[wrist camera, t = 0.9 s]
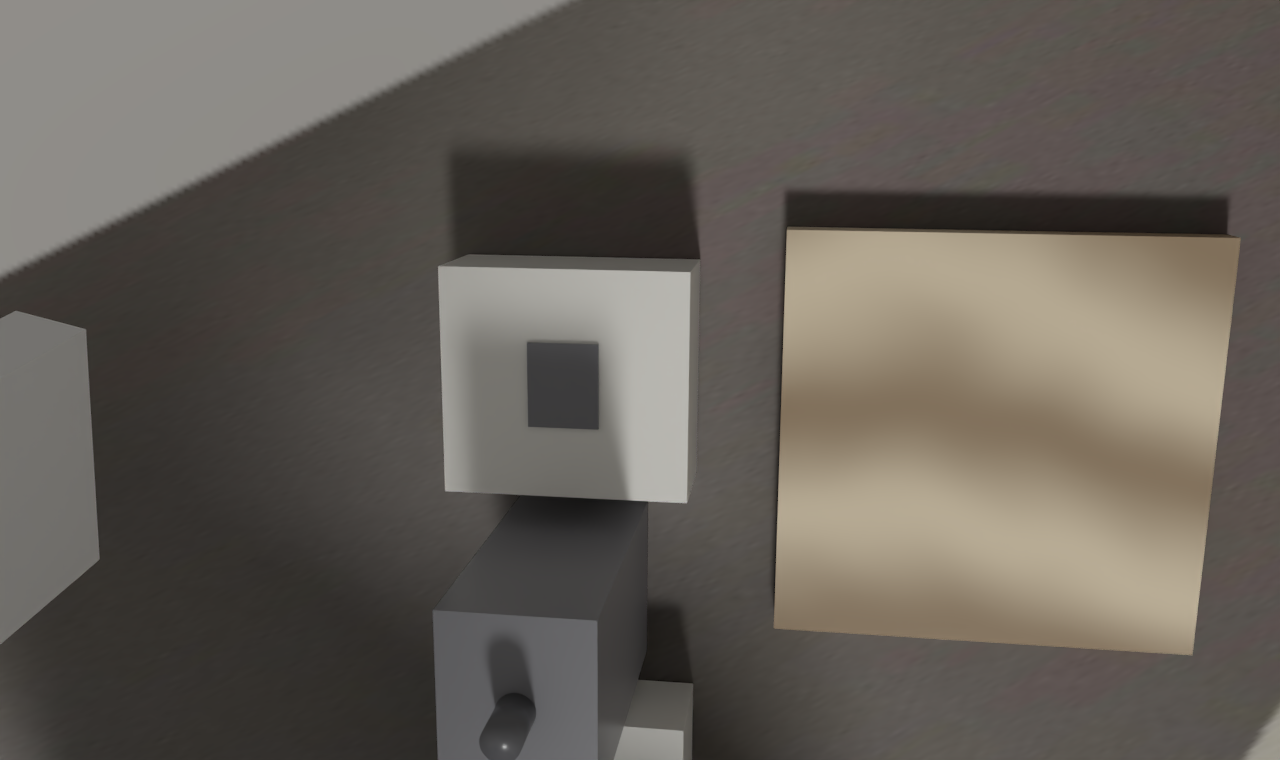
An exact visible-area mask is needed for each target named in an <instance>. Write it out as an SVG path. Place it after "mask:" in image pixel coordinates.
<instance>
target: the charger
mask: <svg viewBox="0 0 1280 760" xmlns="http://www.w3.org/2000/svg"><path fill="white" fill-rule="evenodd" d="M647 567H648V501H632V500H612V499H592V498H572V497H552V496H532V495H521V496H520V497H519V498H518V500H517V501H516V502H515V503H514V505H513V506H512V507H511V509H510V510H509V511H508V513H507V514H506V515H505V517H504V518H503V519H502V520H501V522H500V523H499V524H498V526H497V527H496V528H495V530H494V531H493V532H492V533H491V535H490V536H489V537H488V539H487V540H486V541H485V543H484V544H483V545H482V547H481V548H480V549H479V550H478V552H477V553H476V554H475V556H474V557H473V558H472V560H471V561H470V562H469V563H468V565H467V566H466V567H465V569H464V570H463V571H462V573H461V574H460V575H459V577H458V578H457V579H456V580H455V582H454V583H453V584H452V586H451V587H450V588H449V590H448V591H447V592H446V593H445V595H444V596H443V597H442V599H441V600H440V601H439V603H438V604H437V605H436V606H435V608H434V609H433V635H434V663H435V692H436V721H437V749H438V760H614V757H615V754H616V750H617V747H618V744H619V741H620V737H621V734H622V731H623V727H624V724H625V721H626V718H627V714H628V711H629V708H630V704H631V701H632V698H633V695H634V691H635V688H636V685H637V681H638V678H639V675H640V672H641V668H642V665H643V662H644V658H645V655H646V652H647Z"/></svg>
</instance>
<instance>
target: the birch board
mask: <svg viewBox="0 0 1280 760" xmlns="http://www.w3.org/2000/svg"><path fill="white" fill-rule="evenodd" d="M1240 240H1241V238H1239V237H1235V236H1231V235H1226V234H1170V233H1114V232H1059V231H1003V230H947V229H892V228H836V227H787V242H786V272H785V303H784V333H783V364H782V395H781V425H780V456H779V486H778V517H777V547H776V578H775V608H774V629H789V630H805V631H820V632H836V633H852V634H867V635H883V636H899V637H914V638H930V639H946V640H962V641H977V642H993V643H1009V644H1024V645H1040V646H1056V647H1072V648H1087V649H1103V650H1119V651H1134V652H1150V653H1166V654H1181V655H1192V653H1193V645H1194V636H1195V628H1196V619H1197V610H1198V602H1199V593H1200V585H1201V576H1202V567H1203V559H1204V550H1205V541H1206V533H1207V524H1208V516H1209V507H1210V498H1211V490H1212V481H1213V473H1214V464H1215V455H1216V447H1217V438H1218V430H1219V421H1220V412H1221V404H1222V395H1223V387H1224V378H1225V369H1226V361H1227V352H1228V343H1229V335H1230V326H1231V318H1232V309H1233V300H1234V292H1235V283H1236V275H1237V266H1238V257H1239V249H1240Z"/></svg>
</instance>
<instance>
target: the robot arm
mask: <svg viewBox="0 0 1280 760" xmlns="http://www.w3.org/2000/svg"><path fill="white" fill-rule="evenodd" d="M99 560H100V557H99V540H98V523H97V506H96V490H95V473H94V456H93V439H92V422H91V405H90V389H89V372H88V355H87V338H86V329H84V328H80V327H76V326H72V325H68V324H65V323H61V322H57V321H53V320H50V319H46V318H42V317H38V316H34V315H31V314H27V313H23V312H19V311H14V312H12V313H10V314H8V315H6V316H4V317H2V318H1V319H0V644H1V643H3V642H4V641H5V640H6V639H7V638H9V637H10V636H11V635H12V634H13V633H14V632H16V631H17V630H18V629H19V628H20V627H21V626H23V625H24V624H25V623H26V622H27V621H28V620H30V619H31V618H32V617H33V616H34V615H35V614H37V613H38V612H39V611H40V610H41V609H42V608H44V607H45V606H46V605H47V604H48V603H49V602H51V601H52V600H53V599H54V598H55V597H56V596H58V595H59V594H60V593H61V592H62V591H63V590H65V589H66V588H67V587H68V586H69V585H70V584H72V583H73V582H74V581H75V580H76V579H78V578H79V577H80V576H81V575H82V574H83V573H85V572H86V571H87V570H88V569H89V568H90V567H92V566H93V565H94V564H95V563H96V562H97V561H99Z"/></svg>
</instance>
